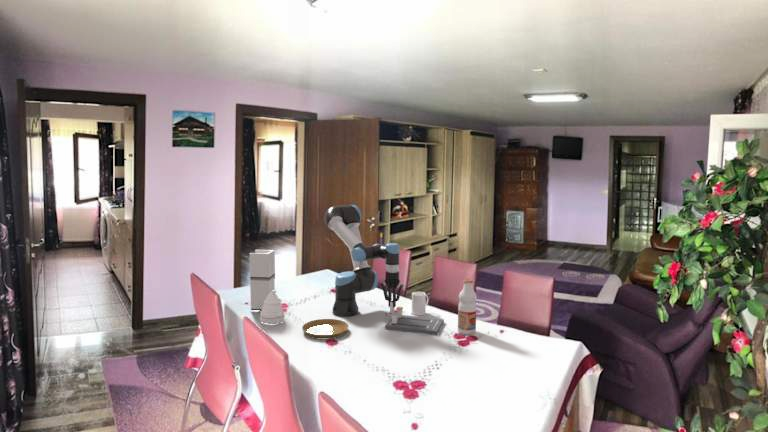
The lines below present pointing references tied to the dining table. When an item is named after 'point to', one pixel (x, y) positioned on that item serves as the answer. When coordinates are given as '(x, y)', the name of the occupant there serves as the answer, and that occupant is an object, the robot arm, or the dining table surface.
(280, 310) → the honey pot
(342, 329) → the plant saucer
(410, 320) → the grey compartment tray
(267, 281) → the tall grey box
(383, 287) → the robot arm
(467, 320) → the fruit juice
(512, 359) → the dining table surface
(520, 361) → the dining table surface
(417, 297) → the mug
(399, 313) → the fader
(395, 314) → the fader
